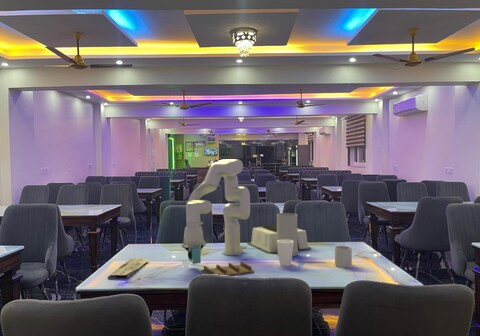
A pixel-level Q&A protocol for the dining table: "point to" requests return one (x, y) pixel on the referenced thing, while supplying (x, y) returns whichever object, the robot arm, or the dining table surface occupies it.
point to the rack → (229, 269)
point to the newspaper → (128, 267)
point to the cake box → (274, 239)
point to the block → (195, 255)
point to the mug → (343, 256)
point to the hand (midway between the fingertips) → (194, 257)
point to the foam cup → (285, 251)
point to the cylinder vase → (287, 229)
